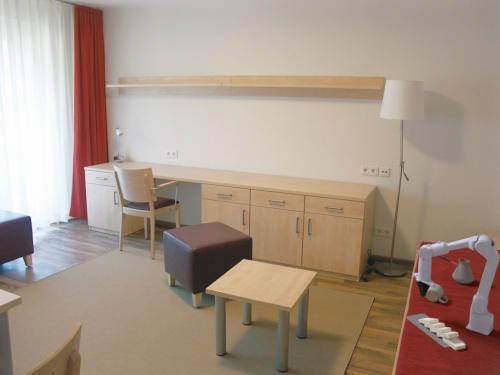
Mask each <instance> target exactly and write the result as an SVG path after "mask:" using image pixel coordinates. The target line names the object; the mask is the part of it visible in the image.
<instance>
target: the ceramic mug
mask: <svg viewBox="0 0 500 375" xmlns="http://www.w3.org/2000/svg"><path fill="white" fill-rule="evenodd" d="M435 284H436V288H431V286H430V288H429V289H428V291H427V293H426V296H425V297H426V299H427V300H428V301H429V302H433V303H436V302H439V303H441V304H446V303H447V302H448V300H449V299H448V297H447V296H446V295H445V294H444V289H443V287H442V286H441V285H440V284H439V283H435ZM441 298H443V299H444V300H443V299H441Z"/></svg>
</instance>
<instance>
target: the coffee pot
mask: <svg viewBox="0 0 500 375" xmlns="http://www.w3.org/2000/svg"><path fill="white" fill-rule="evenodd" d="M437 257H438V258H441V259H442V260H444V261H446V262H449V263H452V264H453V265H456V268H455V270H454V271H453V273H452V278H453V280H454V281H455V282H456V283H457V284H460V285H469V284H471V283H473V282H474V280H475V276H474V273H473V271H472V268H471V265H470V263H471V262H472V261H471V260H470V259H467V258H458V263H456V262H454V261H452V260H450V259H449V258H446V257H443V256H442V255H439V256H434V258H437Z"/></svg>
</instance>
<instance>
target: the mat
mask: <svg viewBox="0 0 500 375" xmlns="http://www.w3.org/2000/svg"><path fill="white" fill-rule="evenodd" d="M404 318H405V319H406V320H408V321H409V322H410V323H412V325H414V326H416V327H417V328H418V329H419V330H421V331H422V332H423V333H424V334H426V335H427V336H428V337H430V338H431V339H432V340H434V342H436V343H437V344H439V345H440V346H442V347H443V348H444V349H445V348H450V346H449V345H448V344H446V343H445V342H444V341H443V340H442V339H443V337H439V336H437V334H436V332H430V328H427V327H425V326H424V324H423V323H419V320H418V319H423V318H431V317H429V316H428V315H426V313H418V314H411V315H406V316H404ZM455 338H457V339H458V340H460V341H461V342H462V343H464V344H465V345H466V342H465V341H463V340H462V339H461V338H459V336H457V337H455Z"/></svg>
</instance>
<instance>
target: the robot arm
mask: <svg viewBox="0 0 500 375" xmlns="http://www.w3.org/2000/svg"><path fill="white" fill-rule="evenodd" d="M437 241H438V242H435V243H432V244H431V243H428V244H423V245H422V246H421V247H420V248H419V250H418V268H417V270H418V271H417V272H413V273H412V277H413V278H415V280H416V281H415V282H416V285H417V287H418V291H419V295H420V297H421V298H423V297H426V293H427V291H428V289H429V288H430V286H431V288H436V284H437V283H435V281H433V279H431V276H432V264H433V263H432V262H433V261H432V257H435V256H437V257H438V256H443V255H447V254H449V252H450V251H454V250H460V249H464V248H465V249H466V248H468V249H469V250H471V251H476V252H477V253H478V254H480V255H481V256H482V257H484V258H485V259H486V263H485V266H484V269H483V273H482V276H481V279H480V282H479V286H478V289H477V292H476V293H475V294H474V295H473V297H472V303H471V305H470V309H469V322H468V324H467V326H465V329H467V330H470V331H474V332H477V333H480V334H483V335H485V336H488V335H489V334H490V333H491V332H492V331H493V329H494V314H493V313H492V312H489V310H488V304H489V295H490V291H491V289H492V288H491V287H492V284H493V282H494V278H495V276H496V272H497V270H498V269H497V268H498V266H499V262H500V254H499V251H498V248H497V246H496V244H495V241H494V240H493V239H492V237H491V236H490V235H487V234H480V235H473V236H470V237H467V238H463V239H459V240H455V241H451V242H446V241H441V240H437Z"/></svg>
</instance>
